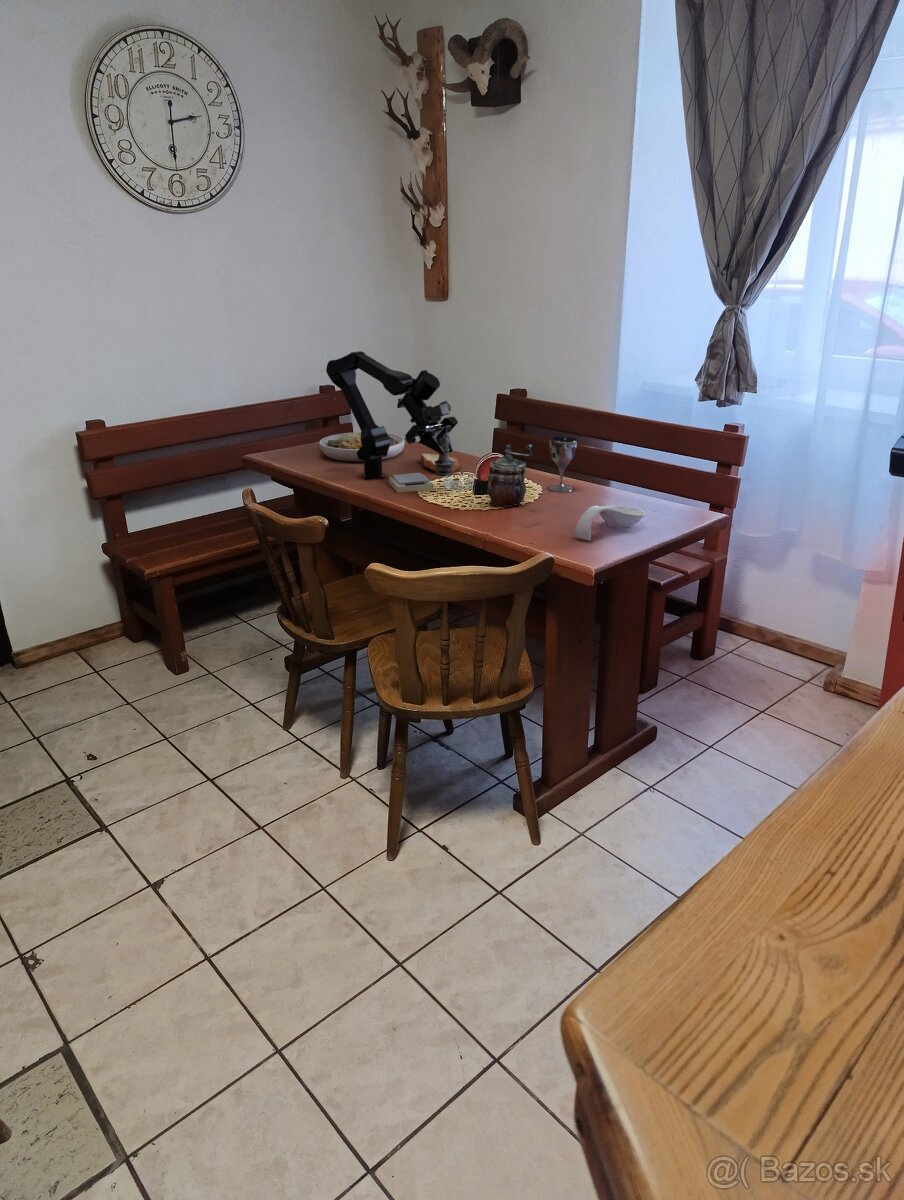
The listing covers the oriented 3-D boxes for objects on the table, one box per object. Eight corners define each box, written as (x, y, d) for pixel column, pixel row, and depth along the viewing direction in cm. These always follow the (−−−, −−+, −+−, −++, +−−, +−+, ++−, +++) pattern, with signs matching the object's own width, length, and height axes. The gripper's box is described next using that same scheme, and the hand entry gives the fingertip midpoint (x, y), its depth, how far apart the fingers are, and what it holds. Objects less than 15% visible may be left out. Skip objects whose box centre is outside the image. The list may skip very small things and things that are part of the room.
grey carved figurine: (454, 471, 244) (455, 431, 239) (452, 476, 238) (453, 436, 234) (435, 471, 244) (435, 431, 240) (432, 476, 239) (432, 435, 234)
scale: (388, 482, 253) (388, 474, 252) (422, 480, 256) (422, 472, 255) (397, 492, 242) (397, 484, 241) (433, 489, 245) (433, 481, 244)
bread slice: (425, 458, 283) (425, 447, 282) (472, 463, 276) (472, 452, 274) (400, 469, 268) (399, 458, 267) (448, 475, 261) (448, 463, 260)
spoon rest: (613, 515, 220) (615, 489, 217) (652, 524, 212) (654, 497, 210) (562, 535, 204) (563, 508, 201) (602, 546, 196) (604, 517, 194)
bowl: (302, 456, 286) (300, 434, 283) (358, 442, 309) (357, 421, 306) (367, 468, 271) (366, 444, 267) (421, 451, 293) (421, 429, 290)
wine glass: (577, 487, 247) (580, 437, 241) (569, 493, 240) (572, 442, 234) (552, 484, 250) (554, 435, 244) (544, 490, 243) (546, 440, 238)
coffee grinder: (518, 514, 221) (520, 448, 214) (477, 504, 230) (477, 440, 224) (546, 504, 230) (548, 441, 223) (505, 495, 239) (507, 433, 232)
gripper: (412, 396, 228) (442, 441, 226) (453, 388, 241) (482, 430, 239) (391, 421, 235) (421, 464, 233) (432, 412, 249) (461, 453, 247)
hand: (447, 452), depth 238 cm, fingers closed on grey carved figurine, 3 cm apart
